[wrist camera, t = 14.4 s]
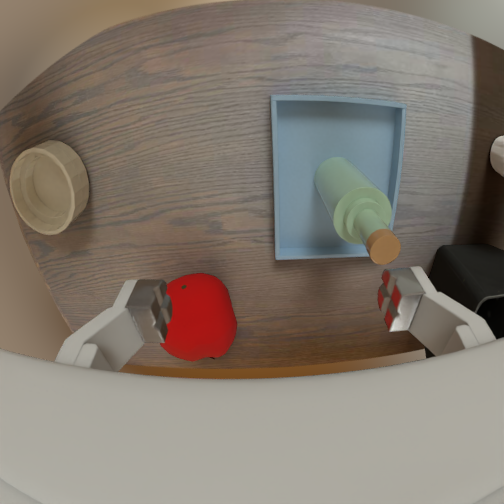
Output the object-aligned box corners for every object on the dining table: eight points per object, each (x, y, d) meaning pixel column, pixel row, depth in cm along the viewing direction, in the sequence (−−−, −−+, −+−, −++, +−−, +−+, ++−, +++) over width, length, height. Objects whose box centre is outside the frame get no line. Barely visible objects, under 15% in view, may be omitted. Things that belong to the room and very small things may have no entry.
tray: (269, 95, 31) (270, 95, 29) (397, 102, 30) (406, 104, 28) (274, 249, 42) (275, 260, 40) (381, 246, 41) (387, 255, 39)
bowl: (21, 149, 33) (1, 159, 29) (81, 130, 33) (61, 138, 28) (41, 222, 40) (25, 237, 36) (100, 215, 40) (85, 231, 35)
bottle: (314, 156, 34) (354, 215, 20) (360, 157, 34) (425, 216, 19) (313, 201, 37) (345, 283, 23) (357, 201, 37) (409, 279, 23)
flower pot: (399, 318, 49) (429, 391, 35) (425, 228, 39) (482, 299, 25) (472, 306, 48) (507, 365, 34) (502, 227, 38) (556, 283, 24)
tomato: (189, 249, 46) (197, 310, 53) (126, 291, 37) (146, 351, 45) (256, 280, 40) (254, 342, 47) (192, 338, 31) (204, 394, 39)
